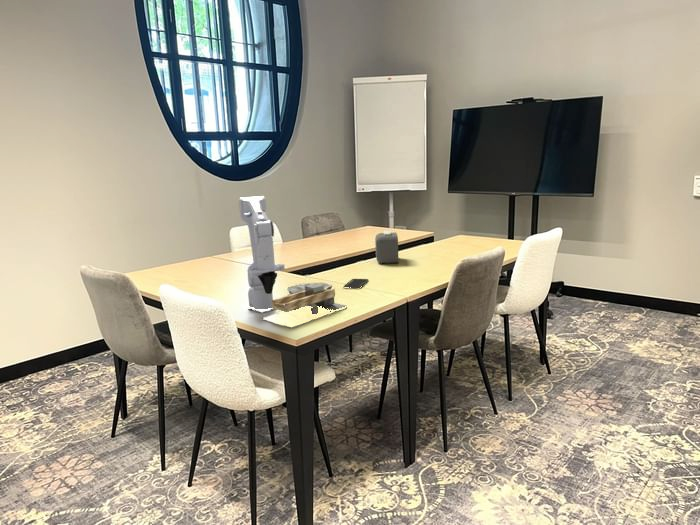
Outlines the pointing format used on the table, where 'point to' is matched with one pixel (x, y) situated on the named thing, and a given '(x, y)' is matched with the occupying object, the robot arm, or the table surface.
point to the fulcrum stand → (334, 307)
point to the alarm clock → (387, 247)
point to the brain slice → (301, 287)
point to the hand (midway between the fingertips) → (268, 293)
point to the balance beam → (304, 300)
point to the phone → (356, 283)
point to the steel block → (313, 289)
